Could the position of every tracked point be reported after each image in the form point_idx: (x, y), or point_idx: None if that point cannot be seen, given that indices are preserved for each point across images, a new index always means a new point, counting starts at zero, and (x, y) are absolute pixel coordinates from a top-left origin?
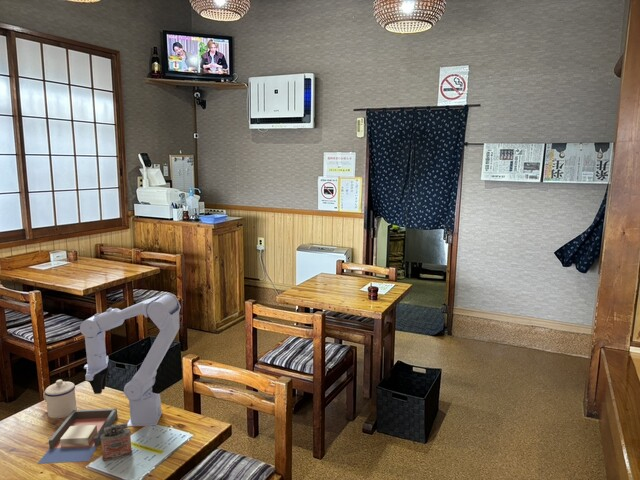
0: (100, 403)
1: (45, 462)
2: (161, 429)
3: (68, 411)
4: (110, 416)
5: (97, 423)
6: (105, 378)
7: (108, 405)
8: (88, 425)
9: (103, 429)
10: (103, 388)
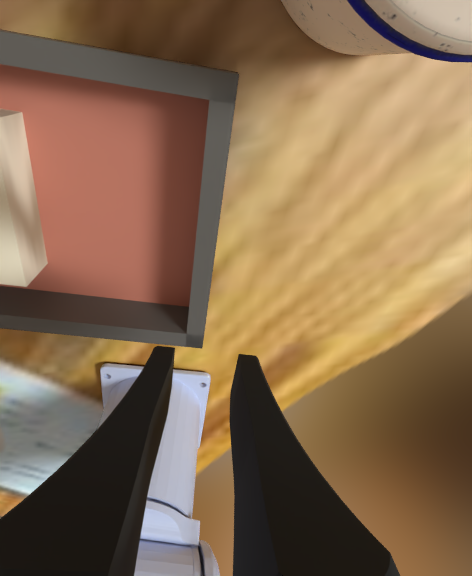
0: (393, 208)
1: None
2: None
3: (292, 7)
4: (116, 335)
5: (136, 246)
6: (234, 510)
7: (345, 257)
8: (15, 244)
9: None
10: (230, 397)
